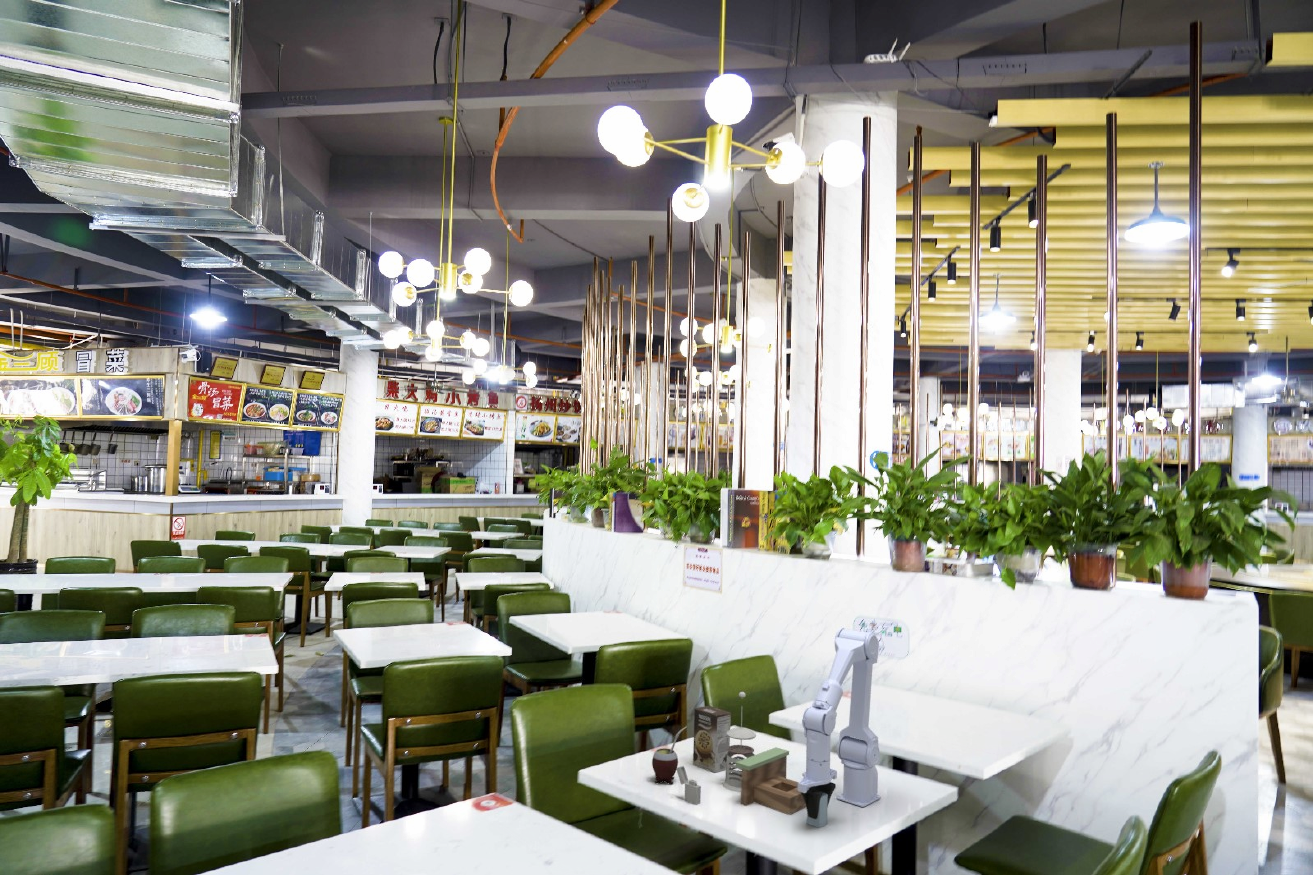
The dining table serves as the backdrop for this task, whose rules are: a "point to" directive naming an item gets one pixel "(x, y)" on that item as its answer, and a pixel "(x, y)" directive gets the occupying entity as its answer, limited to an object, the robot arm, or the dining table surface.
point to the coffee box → (711, 738)
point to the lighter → (689, 787)
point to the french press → (740, 733)
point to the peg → (820, 813)
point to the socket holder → (769, 782)
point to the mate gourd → (665, 763)
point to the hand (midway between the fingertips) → (817, 815)
